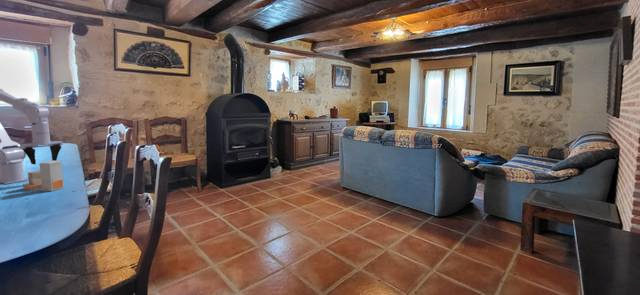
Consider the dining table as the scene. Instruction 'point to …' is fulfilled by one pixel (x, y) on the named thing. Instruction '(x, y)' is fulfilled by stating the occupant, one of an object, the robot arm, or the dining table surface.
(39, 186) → the terracotta base
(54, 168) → the skincare box
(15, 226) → the dining table surface
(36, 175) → the ash block
